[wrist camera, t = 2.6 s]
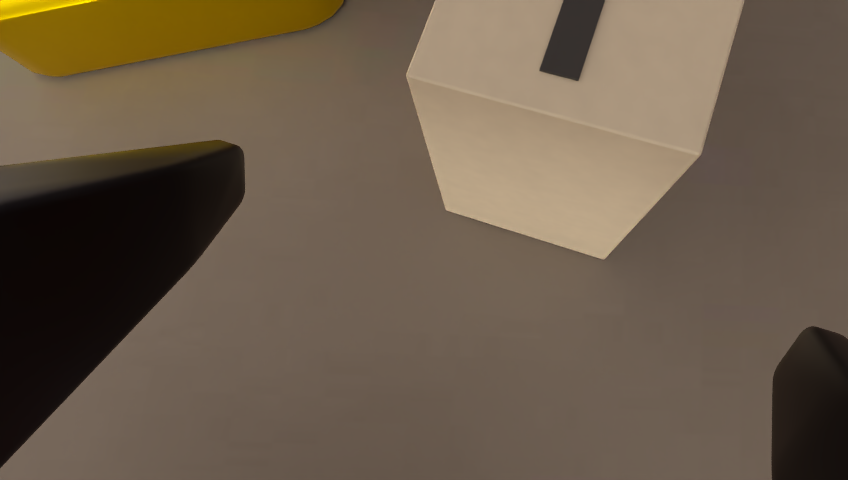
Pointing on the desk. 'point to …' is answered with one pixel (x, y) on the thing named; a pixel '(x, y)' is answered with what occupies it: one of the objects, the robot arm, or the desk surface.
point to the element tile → (140, 28)
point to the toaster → (568, 108)
